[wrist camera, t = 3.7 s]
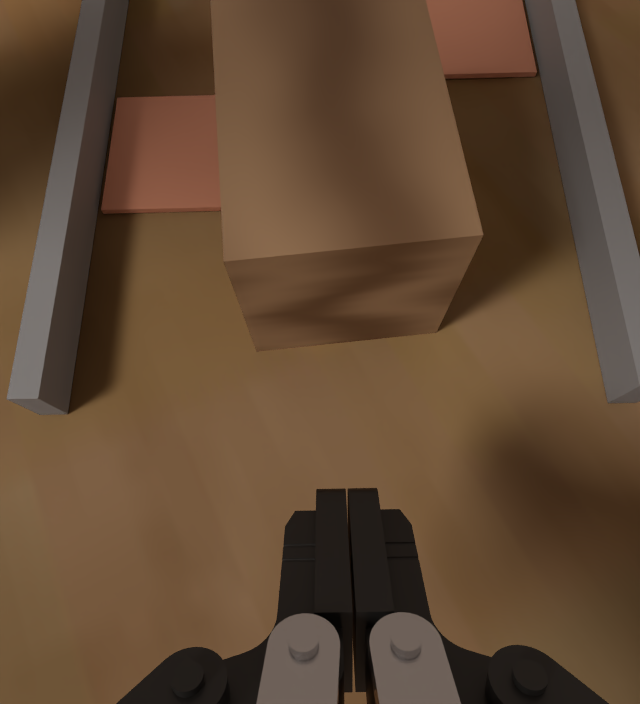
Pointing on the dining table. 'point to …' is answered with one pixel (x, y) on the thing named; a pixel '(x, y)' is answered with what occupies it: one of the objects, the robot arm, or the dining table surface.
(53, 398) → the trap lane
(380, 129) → the walnut block
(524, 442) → the dining table surface
